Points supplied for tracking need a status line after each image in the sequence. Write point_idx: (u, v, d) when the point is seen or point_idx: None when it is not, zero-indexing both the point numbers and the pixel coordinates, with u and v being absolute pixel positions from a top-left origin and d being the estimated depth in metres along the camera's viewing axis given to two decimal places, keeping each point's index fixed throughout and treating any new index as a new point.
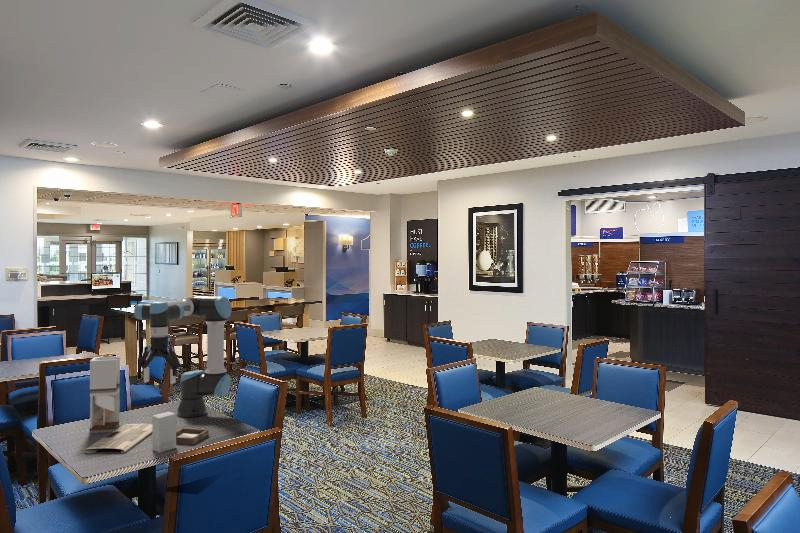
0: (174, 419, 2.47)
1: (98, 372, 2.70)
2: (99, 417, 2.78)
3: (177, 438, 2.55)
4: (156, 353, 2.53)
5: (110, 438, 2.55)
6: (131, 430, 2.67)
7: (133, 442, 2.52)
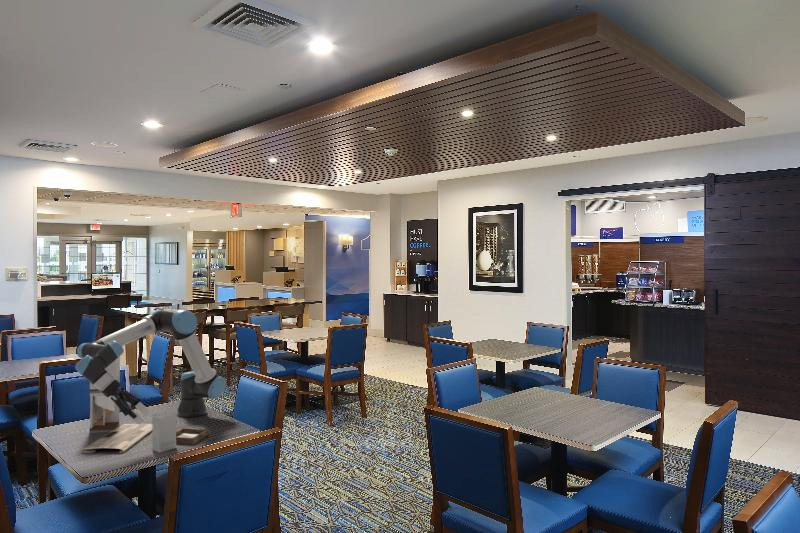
0: (174, 419, 2.47)
1: None
2: (99, 417, 2.78)
3: (177, 438, 2.55)
4: None
5: (108, 438, 2.55)
6: (129, 430, 2.67)
7: (131, 442, 2.52)
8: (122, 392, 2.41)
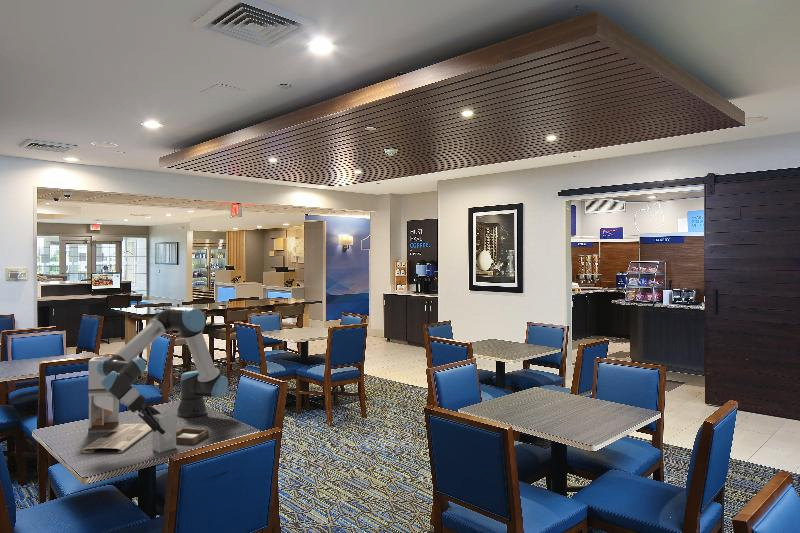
0: (174, 419, 2.47)
1: (96, 372, 2.70)
2: (98, 417, 2.78)
3: (177, 438, 2.55)
4: None
5: (107, 438, 2.55)
6: (127, 430, 2.67)
7: (130, 442, 2.52)
8: (147, 407, 2.44)
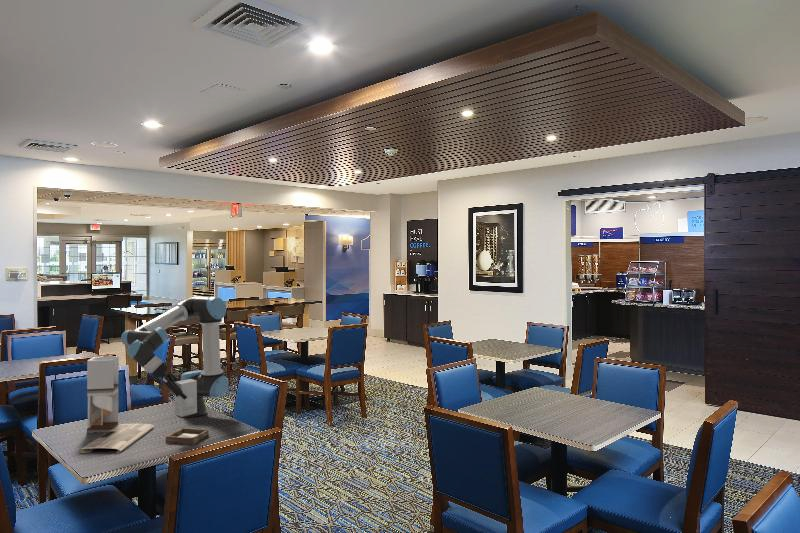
0: (195, 385, 2.60)
1: (95, 372, 2.70)
2: (98, 417, 2.78)
3: (177, 438, 2.55)
4: None
5: (105, 438, 2.55)
6: (126, 430, 2.67)
7: (128, 442, 2.52)
8: (170, 374, 2.57)
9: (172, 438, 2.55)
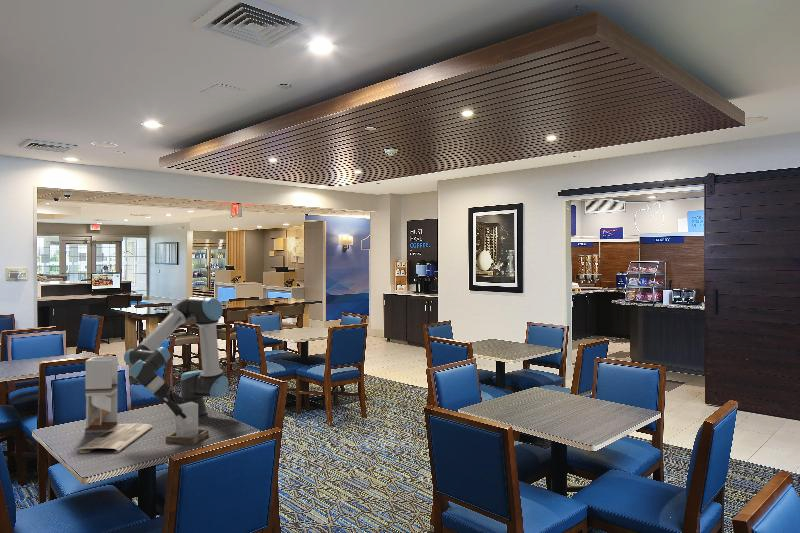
0: (196, 409, 2.61)
1: (93, 372, 2.70)
2: (97, 417, 2.78)
3: (177, 438, 2.55)
4: None
5: (103, 438, 2.55)
6: (124, 430, 2.67)
7: (126, 442, 2.52)
8: (172, 394, 2.59)
9: (172, 438, 2.55)
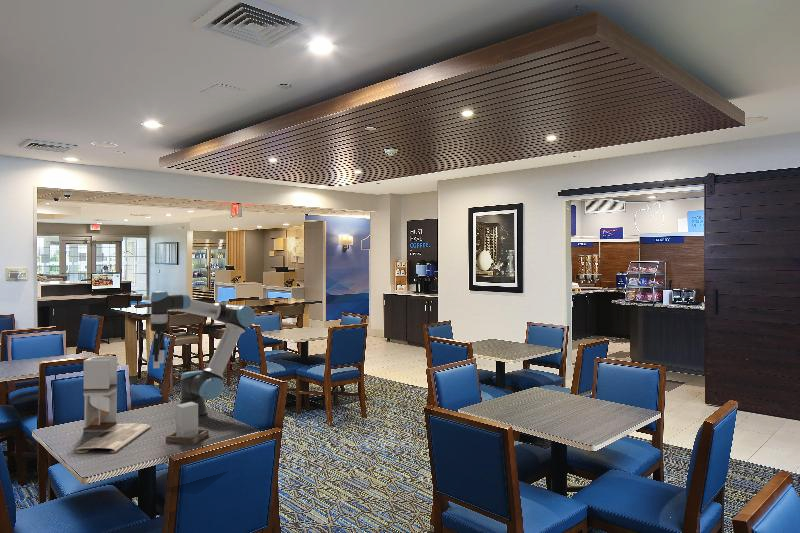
0: (196, 409, 2.61)
1: (91, 372, 2.70)
2: (96, 416, 2.79)
3: (177, 438, 2.55)
4: None
5: (101, 438, 2.55)
6: (122, 430, 2.67)
7: (124, 442, 2.52)
8: (163, 335, 2.75)
9: (172, 438, 2.55)
